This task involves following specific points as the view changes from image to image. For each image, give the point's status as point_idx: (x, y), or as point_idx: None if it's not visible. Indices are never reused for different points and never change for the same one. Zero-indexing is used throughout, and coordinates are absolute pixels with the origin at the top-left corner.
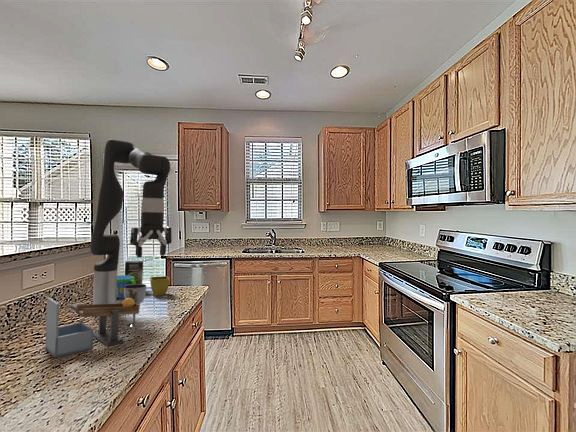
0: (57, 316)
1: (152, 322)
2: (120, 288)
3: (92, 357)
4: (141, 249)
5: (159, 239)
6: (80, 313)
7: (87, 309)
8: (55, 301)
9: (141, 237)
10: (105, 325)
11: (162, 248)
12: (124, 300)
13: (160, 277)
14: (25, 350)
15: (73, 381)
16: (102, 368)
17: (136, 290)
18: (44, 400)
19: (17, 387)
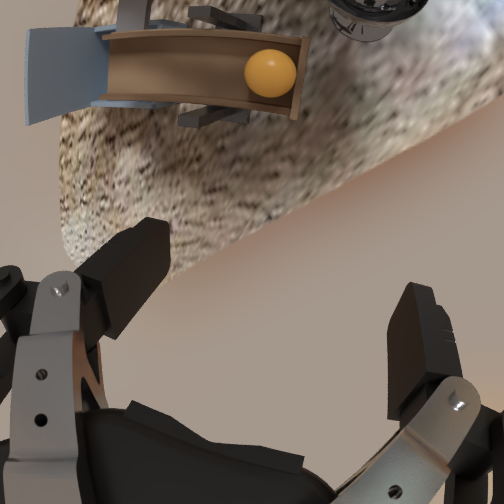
0: (52, 116)
1: (415, 47)
2: None
3: (162, 149)
4: (124, 317)
5: (347, 481)
6: (110, 76)
7: (109, 99)
8: (27, 90)
9: (43, 383)
10: (237, 27)
11: (393, 379)
12: (247, 71)
13: None
14: (97, 17)
15: (116, 216)
16: (158, 212)
17: (348, 15)
18: (87, 233)
19: (68, 172)
